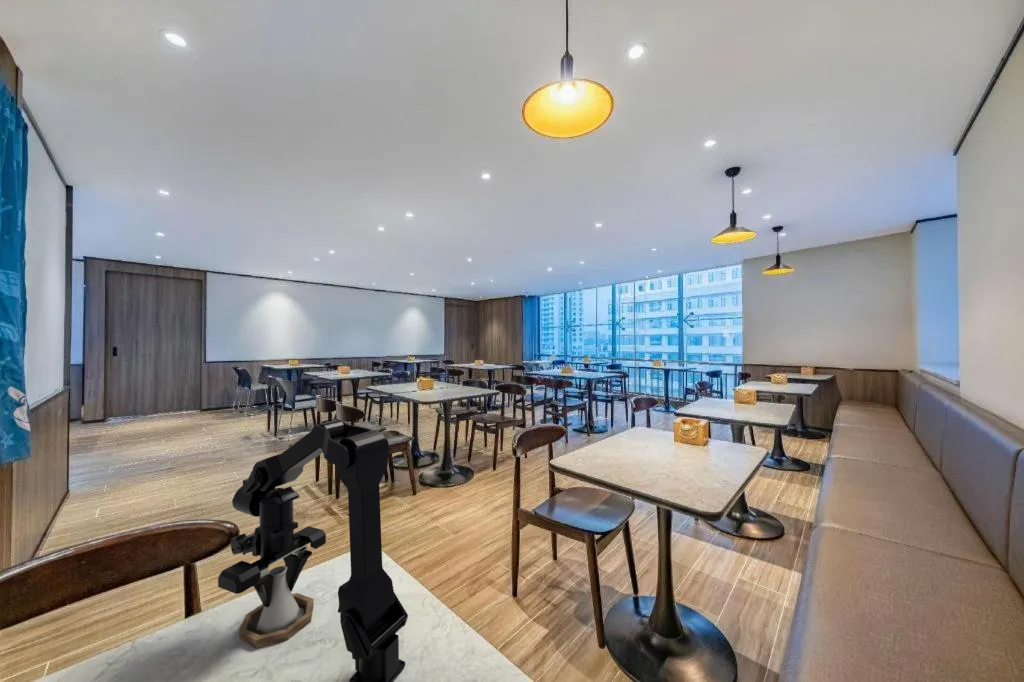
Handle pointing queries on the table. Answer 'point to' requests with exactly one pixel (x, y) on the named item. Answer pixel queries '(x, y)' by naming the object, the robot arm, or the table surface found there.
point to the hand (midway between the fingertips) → (278, 598)
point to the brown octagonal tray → (261, 639)
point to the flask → (279, 605)
